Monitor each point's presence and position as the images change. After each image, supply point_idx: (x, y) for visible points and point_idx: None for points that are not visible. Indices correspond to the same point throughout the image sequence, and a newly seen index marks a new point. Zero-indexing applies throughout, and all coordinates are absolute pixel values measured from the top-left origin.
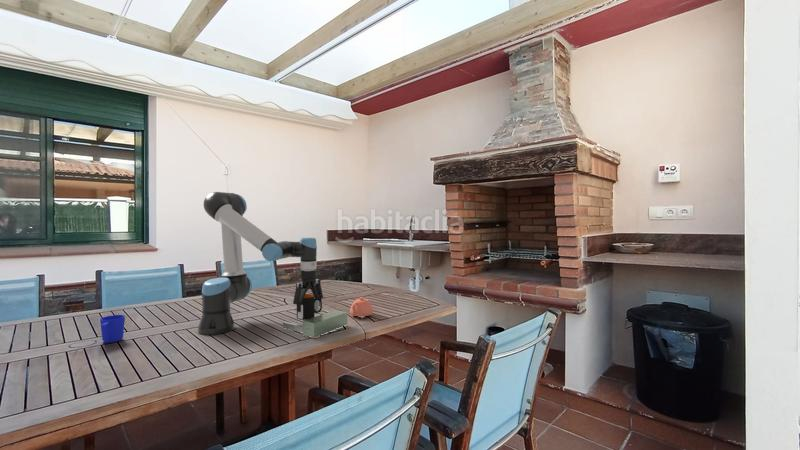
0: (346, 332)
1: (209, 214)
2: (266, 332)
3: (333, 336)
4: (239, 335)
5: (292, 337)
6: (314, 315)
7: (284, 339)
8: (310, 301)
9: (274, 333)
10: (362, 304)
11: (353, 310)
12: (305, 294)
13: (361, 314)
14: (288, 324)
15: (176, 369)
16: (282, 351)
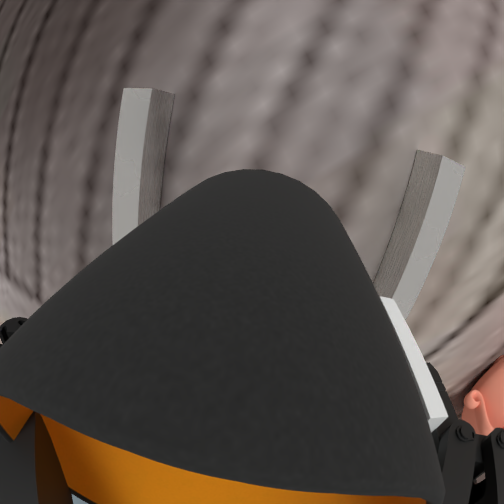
0: None
1: None
2: (59, 73)
3: None
4: (9, 25)
5: (73, 272)
6: (441, 230)
7: (42, 252)
8: (177, 488)
9: (62, 129)
10: None
11: (478, 412)
12: (429, 497)
13: (462, 418)
14: (117, 163)
15: None
16: (7, 313)
